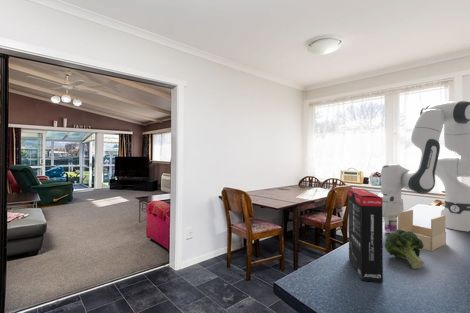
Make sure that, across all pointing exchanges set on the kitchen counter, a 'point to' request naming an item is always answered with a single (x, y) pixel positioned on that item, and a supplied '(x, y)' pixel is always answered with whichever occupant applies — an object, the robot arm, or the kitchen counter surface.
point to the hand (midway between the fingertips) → (390, 223)
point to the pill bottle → (391, 224)
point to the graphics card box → (366, 234)
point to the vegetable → (405, 247)
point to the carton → (424, 230)
